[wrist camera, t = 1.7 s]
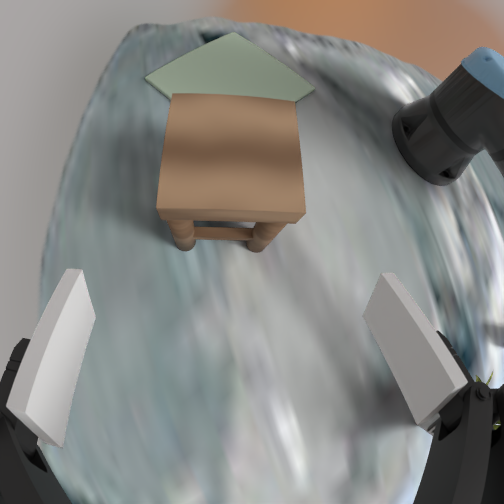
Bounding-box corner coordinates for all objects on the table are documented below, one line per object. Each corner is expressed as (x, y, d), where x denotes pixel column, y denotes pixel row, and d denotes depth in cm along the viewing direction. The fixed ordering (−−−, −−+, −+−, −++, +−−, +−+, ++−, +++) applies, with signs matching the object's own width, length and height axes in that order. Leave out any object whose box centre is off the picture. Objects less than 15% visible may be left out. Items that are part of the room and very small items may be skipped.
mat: (233, 34, 40) (233, 31, 39) (314, 90, 39) (315, 87, 39) (145, 79, 35) (144, 77, 35) (228, 150, 35) (229, 147, 34)
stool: (180, 168, 33) (172, 93, 20) (263, 171, 35) (294, 101, 22) (175, 251, 31) (156, 208, 18) (266, 252, 33) (305, 213, 20)
